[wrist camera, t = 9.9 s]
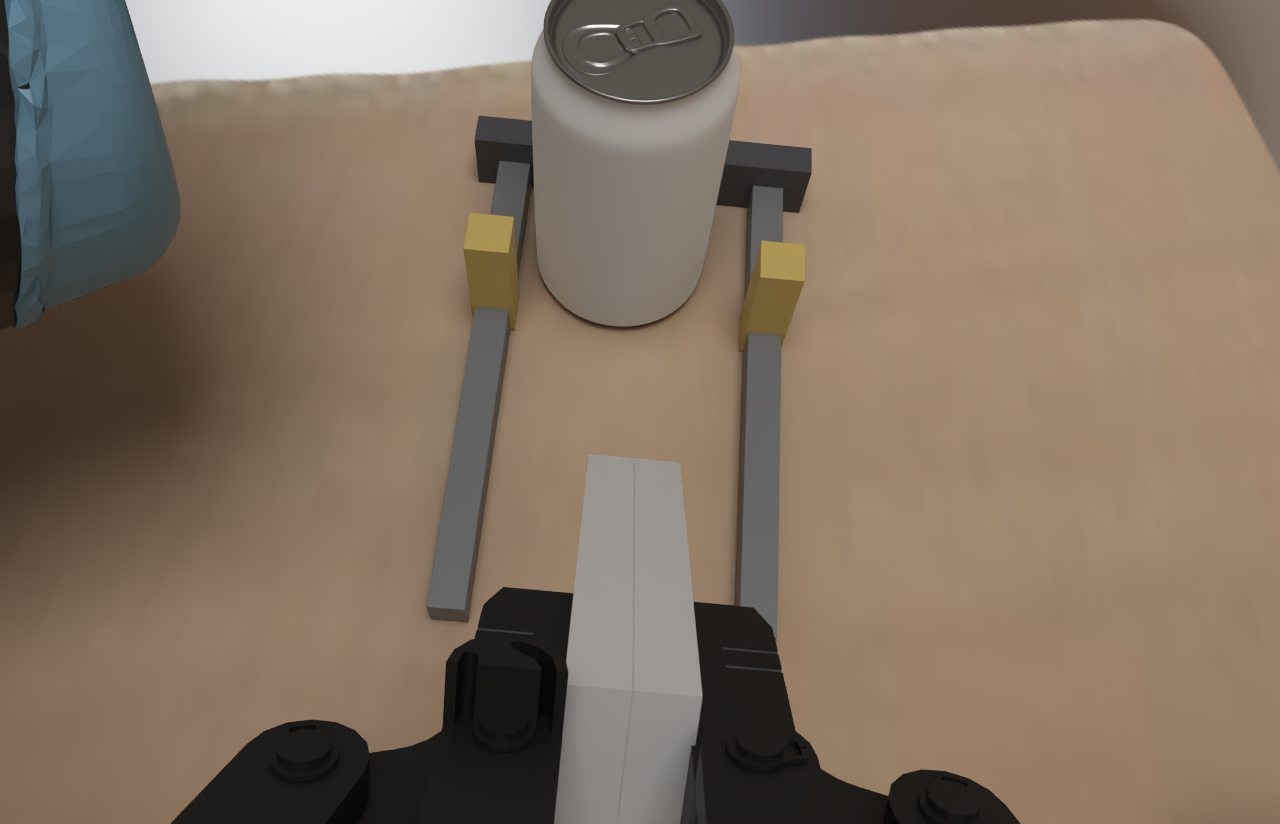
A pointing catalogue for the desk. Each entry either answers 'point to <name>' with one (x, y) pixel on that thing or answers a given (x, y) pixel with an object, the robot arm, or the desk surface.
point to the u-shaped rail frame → (492, 266)
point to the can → (629, 150)
